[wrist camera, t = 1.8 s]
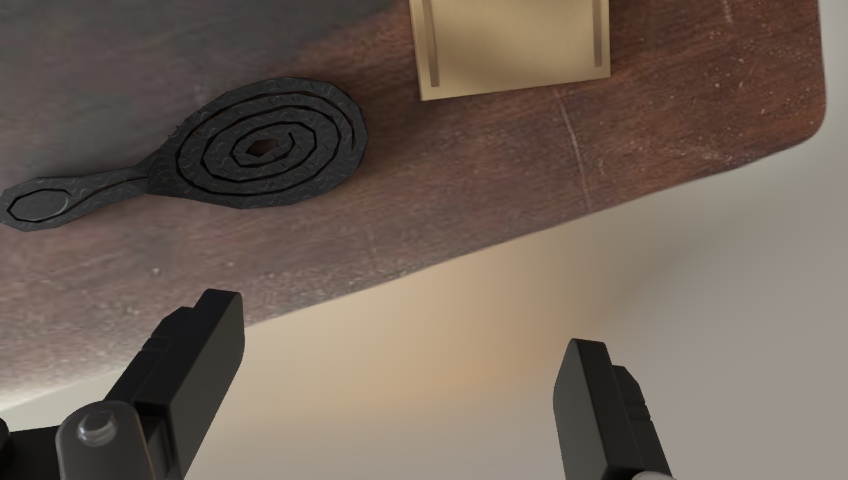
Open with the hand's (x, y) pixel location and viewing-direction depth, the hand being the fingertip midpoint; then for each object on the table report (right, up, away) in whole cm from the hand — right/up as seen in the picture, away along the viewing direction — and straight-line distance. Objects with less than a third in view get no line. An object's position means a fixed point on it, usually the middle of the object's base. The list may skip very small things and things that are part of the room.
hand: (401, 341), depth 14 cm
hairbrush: (-16, +8, +24) cm, 30 cm away
